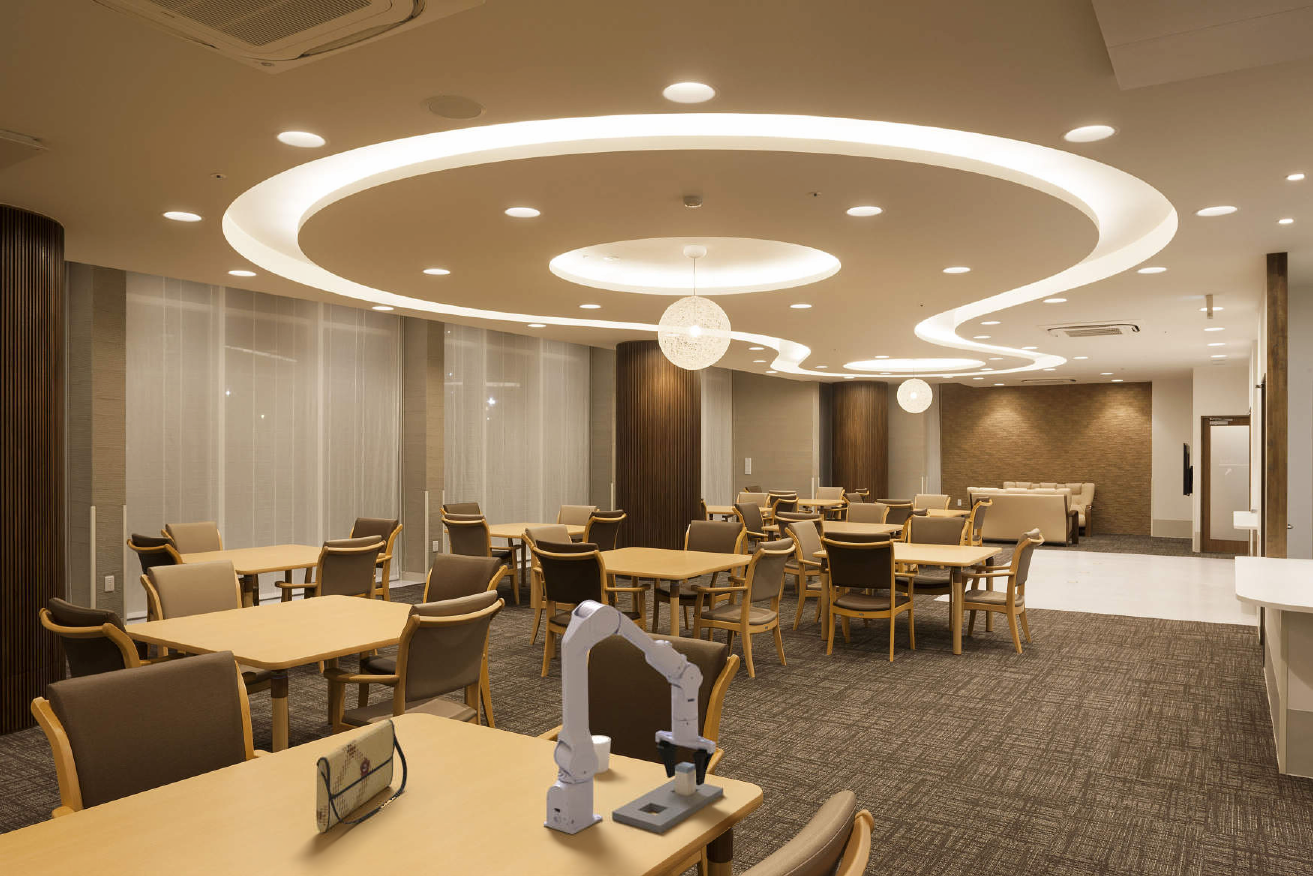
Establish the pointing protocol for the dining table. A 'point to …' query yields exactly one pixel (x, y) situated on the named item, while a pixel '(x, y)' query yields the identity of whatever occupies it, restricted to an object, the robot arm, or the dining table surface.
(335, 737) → the dining table surface
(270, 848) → the dining table surface
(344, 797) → the clutch purse
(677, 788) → the plug
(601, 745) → the white round cup
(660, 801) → the socket board
